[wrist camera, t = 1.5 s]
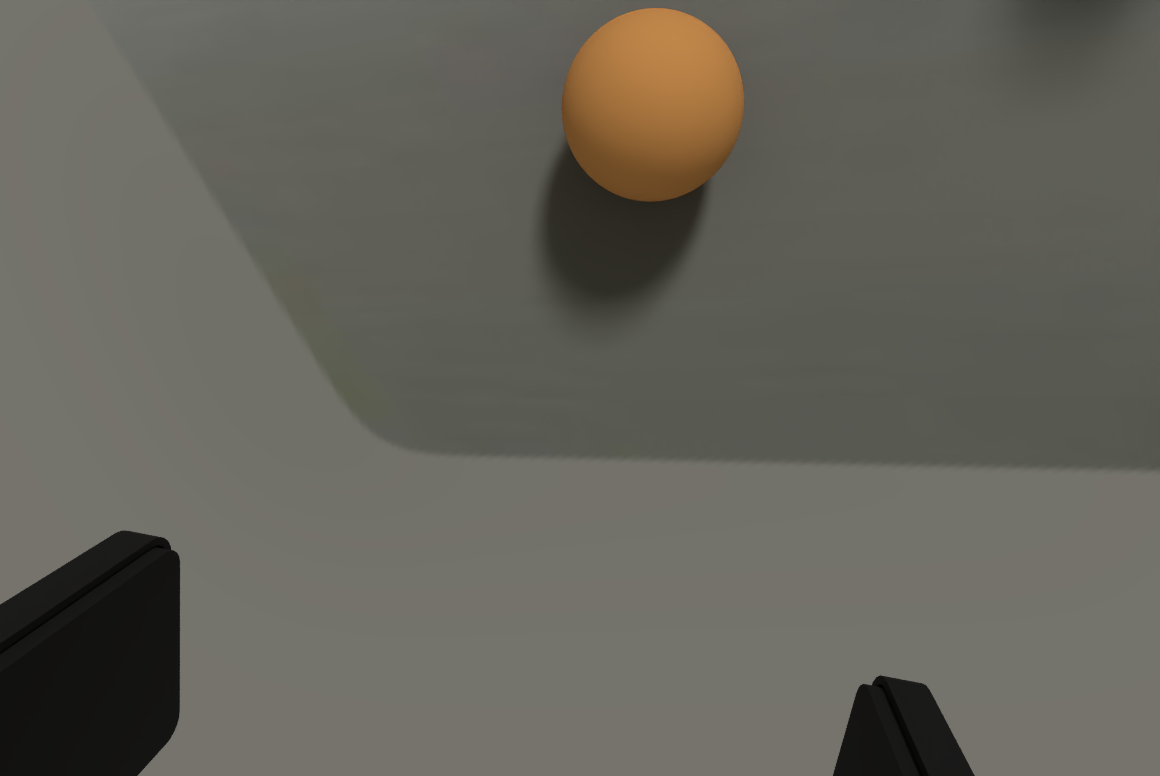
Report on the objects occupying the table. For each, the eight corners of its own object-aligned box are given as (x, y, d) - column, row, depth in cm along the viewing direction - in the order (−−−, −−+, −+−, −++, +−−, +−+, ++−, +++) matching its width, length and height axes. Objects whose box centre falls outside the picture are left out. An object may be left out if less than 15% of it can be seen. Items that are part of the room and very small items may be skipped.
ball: (750, 39, 25) (770, -2, 19) (720, 210, 26) (732, 215, 21) (585, 19, 25) (561, -26, 20) (564, 189, 27) (537, 188, 21)
